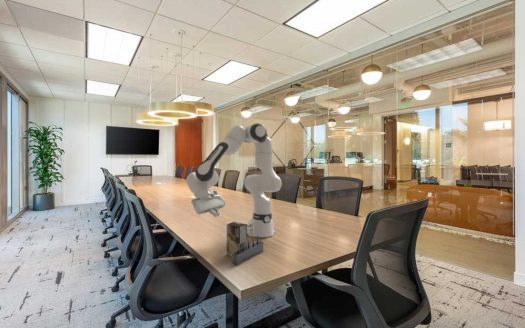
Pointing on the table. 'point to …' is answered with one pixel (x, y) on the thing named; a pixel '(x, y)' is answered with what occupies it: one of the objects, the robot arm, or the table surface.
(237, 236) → the coffee box
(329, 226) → the table surface
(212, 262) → the table surface
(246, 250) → the peg rack
